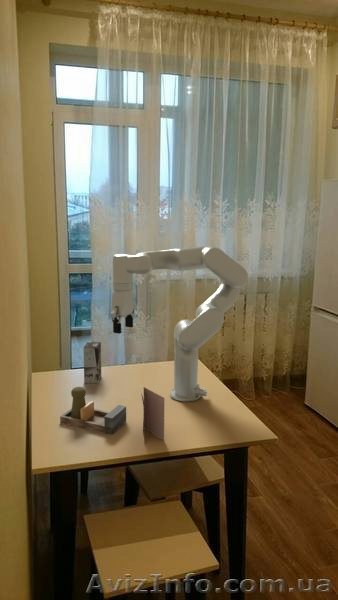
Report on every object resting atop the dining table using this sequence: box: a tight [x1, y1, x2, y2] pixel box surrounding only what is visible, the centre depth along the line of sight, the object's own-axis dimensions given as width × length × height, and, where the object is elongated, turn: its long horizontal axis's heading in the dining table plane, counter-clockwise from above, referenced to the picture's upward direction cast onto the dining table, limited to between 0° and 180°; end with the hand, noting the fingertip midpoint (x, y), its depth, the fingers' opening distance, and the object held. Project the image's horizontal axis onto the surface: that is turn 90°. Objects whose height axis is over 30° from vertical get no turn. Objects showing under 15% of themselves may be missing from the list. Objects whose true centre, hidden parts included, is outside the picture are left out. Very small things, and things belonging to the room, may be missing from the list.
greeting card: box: [140, 387, 165, 441], centre depth 144 cm, size 11×7×15 cm, turn 4°
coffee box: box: [83, 341, 102, 384], centre depth 192 cm, size 9×6×16 cm
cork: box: [70, 386, 87, 419], centre depth 155 cm, size 6×6×11 cm
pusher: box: [80, 400, 95, 420], centre depth 154 cm, size 1×7×5 cm, turn 158°
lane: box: [59, 404, 127, 436], centre depth 153 cm, size 21×10×6 cm, turn 68°
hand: (123, 329), depth 169 cm, fingers open, 9 cm apart
